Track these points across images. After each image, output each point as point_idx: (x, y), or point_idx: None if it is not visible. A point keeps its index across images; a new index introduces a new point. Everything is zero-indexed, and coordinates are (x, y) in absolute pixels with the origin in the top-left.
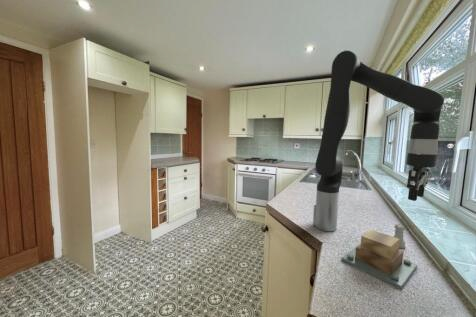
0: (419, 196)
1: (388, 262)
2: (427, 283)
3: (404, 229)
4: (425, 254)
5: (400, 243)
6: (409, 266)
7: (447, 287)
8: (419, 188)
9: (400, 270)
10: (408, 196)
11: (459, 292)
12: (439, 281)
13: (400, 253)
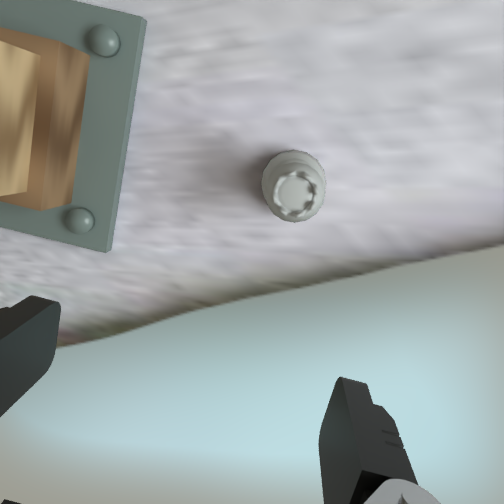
0: (328, 409)
1: None
2: (19, 273)
3: (282, 219)
4: (273, 287)
5: (264, 194)
6: (64, 227)
7: None
8: (344, 480)
9: None
10: (14, 307)
11: None
12: (65, 308)
13: (4, 199)
